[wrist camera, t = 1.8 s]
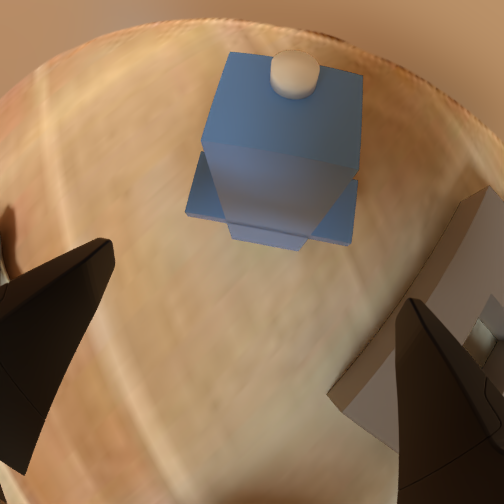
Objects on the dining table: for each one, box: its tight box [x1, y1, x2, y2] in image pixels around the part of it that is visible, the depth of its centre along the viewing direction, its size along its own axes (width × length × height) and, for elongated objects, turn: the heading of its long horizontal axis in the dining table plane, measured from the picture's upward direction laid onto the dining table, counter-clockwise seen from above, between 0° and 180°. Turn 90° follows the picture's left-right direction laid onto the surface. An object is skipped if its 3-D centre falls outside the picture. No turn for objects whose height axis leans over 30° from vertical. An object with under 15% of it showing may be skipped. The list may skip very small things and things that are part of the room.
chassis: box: [327, 186, 504, 454], centre depth 18 cm, size 18×14×4 cm
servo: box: [185, 50, 363, 251], centre depth 15 cm, size 4×9×14 cm, turn 79°
